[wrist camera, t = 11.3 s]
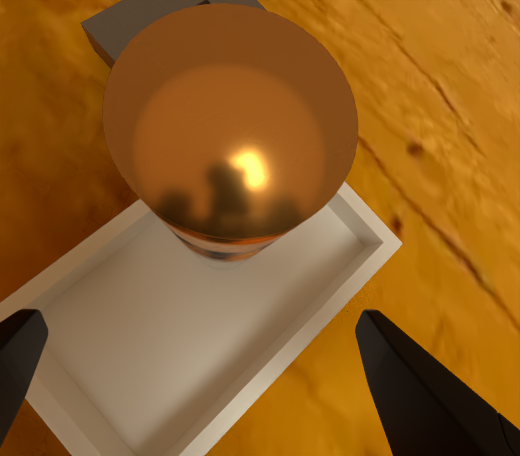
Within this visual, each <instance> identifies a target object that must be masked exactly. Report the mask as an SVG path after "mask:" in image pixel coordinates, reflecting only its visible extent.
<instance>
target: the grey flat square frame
mask: <svg viewBox="0 0 520 456" xmlns="http://www.w3.org/2000/svg"><path fill="white" fill-rule="evenodd" d="M214 3H230V4H239V5H246V6H251V7H255V8H260V9H263V10H266V9H265V8H264V7H263V6H262V5H261V4H260V3H259V2H258V1H257V0H122V1H120V2H118V3H117V4H115V5H113V6H111V7H109V8H107V9H105V10H104V11H102V12H100V13H98V14H96V15H94V16H92V17H91V18H89V19H87V20H85V21H83V22H81V25H82V27H83V29H84V31H85V33H86V35H87V37H88V39H89V41H90V43H91V45H92V46H93V48H94V50H95V51H96V52H97V54H98V55H99V56H100V57H101V58H102V59H103V60H104V61H105V62H106V63H107V65H108V66H109V67H110V68H111V69H112V68H113V66H114V64H115V62H116V60H117V59H118V57H119V55H120V54H121V52H122V51H123V50H124V49H125V47H126V46H127V45H128V44H129V42H130V41H131V40H132V39H133V38H134V37H135V36H136V35H138V34H139V33H140V32H141V31H142V30H143V29H145V28H146V27H147V26H149V25H150V24H152V23H153V22H155V21H156V20H158V19H160V18H162V17H164V16H166V15H168V14H170V13H173V12H176V11H179V10H181V9H184V8H189V7H193V6H197V5H205V4H214ZM266 11H267V10H266Z"/></svg>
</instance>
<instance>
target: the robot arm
mask: <svg viewBox="0 0 520 456" xmlns="http://www.w3.org/2000/svg"><path fill="white" fill-rule="evenodd" d="M355 333H356V338H357V342H358V346H359V350H360V354H361V358H362V363H363V367H364V371H365V375H366V379H367V382H368V386H369V389H370V392H371V395H372V397H373V400H374V403H375V406H376V409H377V411H378V414H379V417H380V420H381V423H382V426H383V428H384V431H385V434H386V437H387V440H388V443H389V445H390V448H391V451H392V454H393V456H520V430H519V429H518V428H517V427H516V426H514V425H513V424H512V423H511V422H510V421H508V420H507V419H506V418H505V417H504V416H503V415H501V414H500V413H497V411H496V410H495V409H494V408H493V407H492V406H491V405H489V404H488V403H487V402H486V401H485V400H484V399H482V398H481V397H480V396H479V395H478V394H477V393H475V392H474V391H473V390H472V389H471V388H469V387H468V386H467V385H466V384H465V383H464V382H462V381H461V380H460V379H459V378H458V377H456V376H455V375H454V374H453V373H452V372H451V371H449V370H448V369H447V368H446V367H445V366H443V365H442V364H441V363H440V362H439V361H438V360H436V359H435V358H434V357H433V356H432V355H431V354H429V353H428V352H427V351H426V350H425V349H423V348H422V347H421V346H420V345H419V344H418V343H416V342H415V341H414V340H413V339H412V338H410V337H409V336H408V335H407V334H406V333H405V332H403V331H402V330H401V329H400V328H399V327H397V326H396V325H395V324H394V323H393V322H392V321H390V320H389V319H388V318H387V317H386V316H385V315H383V314H382V313H381V312H380V311H378V310H374V309H366V310H364V311H363V312H362V314H361V316H360V318H359V320H358V323H357V325H356V329H355ZM47 338H48V327H47V325H46V322H45V320H44V318H43V315H42V313H41V311H40V310H38V309H20V310H18V311H16V312H15V313H13V314H12V315H10V316H9V317H7V318H6V319H4V320H3V321H1V322H0V447H1V445H2V443H3V441H4V439H5V437H6V435H7V433H8V431H9V429H10V427H11V425H12V423H13V421H14V419H15V417H16V415H17V413H18V411H19V409H20V407H21V405H22V403H23V400H24V398H25V396H26V394H27V391H28V389H29V386H30V384H31V381H32V378H33V376H34V373H35V370H36V368H37V365H38V362H39V360H40V357H41V354H42V352H43V349H44V346H45V344H46V341H47Z"/></svg>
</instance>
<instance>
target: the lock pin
mask: <svg viewBox="0 0 520 456" xmlns="http://www.w3.org/2000/svg"><path fill="white" fill-rule="evenodd" d="M102 116H103V129H104V134H105V138H106V143H107V146H108V149H109V152H110V154H111V157H112V159H113V162H114V164H115V165H116V167H117V169H118V171H119V172H120V174H121V176H122V177H123V179H124V180H125V181H126V183H127V184H128V185H129V187H130V188H131V189H132V191H133V192H134V193H135V194H136V195H137V196H138V197H139V198H140V199H141V200H142V201H143V202H144V203H145V204H146V205H147V206H148V207H149V208H150V209H151V210H152V211H153V212H154V214H155V215H156V216H157V217H158V218H159V219H160V220H161V221H162V222H163V223H164V224H165V225H166V226H167V227H168V228H169V229H170V230H171V231H172V232H173V233H174V234H175V235H176V236H177V237H178V238H179V239H180V241H181V242H182V243H183V244H184V245H185V246H186V247H187V248H188V249H189V250H190V251H191V252H192V253H193V254H194V255H195V256H196V257H197V258H198V259H199V260H200V261H201V262H202V263H203V264H204V265H206V266H208V267H210V268H212V269H216V270H229V269H233V268H235V267H237V266H239V265H241V264H242V263H244V262H245V261H247V260H248V259H250V258H251V257H253V256H254V255H256V254H257V253H259V252H260V251H262V250H263V249H265V248H266V247H268V246H269V245H270V244H272V243H273V242H275V241H276V240H278V239H279V238H281V237H282V236H284V235H285V234H287V233H288V232H290V231H291V230H293V229H294V228H296V227H297V226H299V225H300V224H302V223H303V222H305V221H306V220H308V219H309V218H310V217H312V216H313V215H314V214H316V213H317V212H318V211H319V210H321V209H322V208H323V207H324V206H325V205H326V204H327V203H328V202H329V201H330V200H331V199H332V198H333V197H334V196H335V194H336V193H337V191H338V190H339V189H340V187H341V186H342V184H343V183H344V181H345V179H346V177H347V175H348V173H349V171H350V169H351V166H352V163H353V160H354V157H355V153H356V148H357V142H358V117H357V110H356V105H355V100H354V97H353V94H352V91H351V88H350V85H349V83H348V81H347V79H346V77H345V75H344V73H343V71H342V70H341V68H340V67H339V65H338V64H337V62H336V61H335V59H334V58H333V57H332V56H331V54H330V53H329V52H328V51H327V50H326V48H325V47H324V46H323V45H322V44H321V43H319V42H318V41H317V40H316V39H315V38H314V37H313V36H312V35H310V34H309V33H308V32H306V31H305V30H304V29H303V28H301V27H299V26H298V25H296V24H294V23H293V22H291V21H289V20H287V19H285V18H283V17H281V16H279V15H277V14H274V13H272V12H269V11H266V10H263V9H260V8H255V7H251V6H246V5H239V4H230V3H214V4H205V5H197V6H193V7H189V8H184V9H181V10H179V11H176V12H173V13H170V14H168V15H166V16H164V17H162V18H160V19H158V20H156V21H155V22H153V23H152V24H150V25H149V26H147V27H146V28H145V29H143V30H142V31H141V32H140V33H139V34H138V35H136V36H135V37H134V38H133V39H132V40H131V41H130V42H129V44H128V45H127V46H126V47H125V49H124V50H123V51H122V52H121V54H120V55H119V57H118V59H117V60H116V62H115V64H114V66H113V68H112V70H111V73H110V75H109V78H108V80H107V84H106V88H105V92H104V97H103V109H102Z"/></svg>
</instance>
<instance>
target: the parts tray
mask: <svg viewBox="0 0 520 456" xmlns="http://www.w3.org/2000/svg"><path fill="white" fill-rule="evenodd" d="M402 244H403V243H402V242H401V241H400V240H399V239H398V238H397V237H396V236H395V235H394V234H393V233H392V232H391V231H390V229H389V228H388V227H387V226H386V225H385V224H384V223H383V222H382V221H381V220H380V219H379V218H378V217H377V215H376V214H375V213H374V212H373V211H372V210H371V209H370V208H369V207H368V206H367V205H366V204H365V203H364V202H363V200H362V199H361V198H360V197H359V196H358V195H357V194H356V193H355V192H354V191H353V190H352V189H351V188H350V187H349V185H348V184H347V183H346V182H345V181H344V183H343V184H342V186H341V187H340V189H339V190H338V191H337V193H336V194H335V196H334V197H333V198H332V199H331V200H330V201H329V202H328V203H327V204H326V205H325V206H324V207H323V208H322V209H321V210H319V211H318V212H317V213H316V214H314V215H313V216H312V217H310V218H309V219H308V220H306V221H305V222H303V223H302V224H300V225H299V226H297V227H296V228H294V229H293V230H291V231H290V232H288V233H287V234H285V235H284V236H282V237H281V238H279V239H278V240H276V241H275V242H273V243H272V244H270V245H269V246H268V247H266V248H265V249H263V250H262V251H260V252H259V253H257V254H256V255H254V256H253V257H251V258H250V259H248V260H247V261H245V262H244V263H242V264H241V265H239V266H237V267H235V268H233V269H229V270H216V269H212V268H210V267H208V266H206V265H204V264H203V263H202V262H201V261H200V260H199V259H198V258H197V257H196V256H195V255H194V254H193V253H192V252H191V251H190V250H189V249H188V248H187V247H186V246H185V245H184V244H183V243H182V242H181V241H180V239H179V238H178V237H177V236H176V235H175V234H174V233H173V232H172V231H171V230H170V229H169V228H168V227H167V226H166V225H165V224H164V223H163V222H162V221H161V220H160V219H159V218H158V217H157V216H156V215H155V214H154V212H153V211H152V210H151V209H150V208H149V207H148V206H147V205H146V204H145V203H144V202H143V201H142V200H141V199H139V200H137V201H136V202H135V203H133V204H132V205H131V206H129V207H128V208H127V209H125V210H124V211H123V212H121V213H120V214H119V215H117V216H116V217H115V218H113V219H112V220H110V221H109V222H108V223H106V224H105V225H104V226H102V227H101V228H100V229H98V230H97V231H96V232H94V233H93V234H92V235H90V236H89V237H88V238H86V239H85V240H84V241H82V242H81V243H80V244H78V245H77V246H76V247H74V248H73V249H72V250H70V251H69V252H68V253H66V254H65V255H63V256H62V257H61V258H59V259H58V260H57V261H55V262H54V263H53V264H51V265H50V266H49V267H47V268H46V269H45V270H43V271H42V272H41V273H39V274H38V275H37V276H35V277H34V278H33V279H31V280H30V281H29V282H27V283H26V284H25V285H23V286H22V287H21V288H19V289H18V290H17V291H15V292H14V293H12V294H11V295H10V296H8V297H7V298H6V299H4V300H3V301H2V302H0V322H1V321H3V320H4V319H6V318H7V317H9V316H10V315H12V314H13V313H15V312H16V311H18V310H20V309H38V310H40V311H41V313H42V315H43V318H44V320H45V322H46V325H47V327H48V338H47V341H46V344H45V346H44V349H43V352H42V354H41V357H40V360H39V362H38V365H37V368H36V370H35V373H34V376H33V378H32V381H31V384H30V386H29V389H28V391H27V394H26V396H25V399H26V400H27V401H28V402H29V404H30V405H31V406H32V407H33V409H34V410H35V411H36V412H37V413H38V415H39V416H40V417H41V418H42V420H43V421H44V422H45V423H46V425H47V426H48V427H49V428H50V429H51V431H52V432H53V433H54V434H55V436H56V437H57V438H58V439H59V441H60V442H61V443H62V444H63V445H64V447H65V448H66V449H67V450H68V452H69V453H70V454H71V455H72V456H204V455H205V454H206V453H207V452H208V451H209V450H210V449H211V448H212V447H213V446H214V445H215V444H216V443H217V441H218V440H219V439H220V438H221V437H222V436H223V435H224V434H225V433H226V432H227V431H228V430H229V429H230V428H231V426H232V425H233V424H234V423H235V422H236V421H237V420H238V419H239V418H240V417H241V416H242V415H243V414H244V413H245V412H246V410H247V409H248V408H249V407H250V406H251V405H252V404H253V403H254V402H255V401H256V400H257V399H258V398H259V397H260V396H261V394H262V393H263V392H264V391H265V390H266V389H267V388H268V387H269V386H270V385H271V384H272V383H273V382H274V381H275V380H276V378H277V377H278V376H279V375H280V374H281V373H282V372H283V371H284V370H285V369H286V368H287V367H288V366H289V365H290V363H291V362H292V361H293V360H294V359H295V358H296V357H297V356H298V355H299V354H300V353H301V352H302V351H303V350H304V349H305V347H306V346H307V345H308V344H309V343H310V342H311V341H312V340H313V339H314V338H315V337H316V336H317V335H318V334H319V333H320V331H321V330H322V329H323V328H324V327H325V326H326V325H327V324H328V323H329V322H330V321H331V320H332V319H333V318H334V317H335V315H336V314H337V313H338V312H339V311H340V310H341V309H342V308H343V307H344V306H345V305H346V304H347V303H348V302H349V300H350V299H351V298H352V297H353V296H354V295H355V294H356V293H357V292H358V291H359V290H360V289H361V288H362V287H363V286H364V284H365V283H366V282H367V281H368V280H369V279H370V278H371V277H372V276H373V275H374V274H375V273H376V272H377V271H378V270H379V268H380V267H381V266H382V265H383V264H384V263H385V262H386V261H387V260H388V259H389V258H390V257H391V256H392V255H393V254H394V252H395V251H396V250H397V249H398V248H399V247H400V246H401V245H402Z"/></svg>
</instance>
